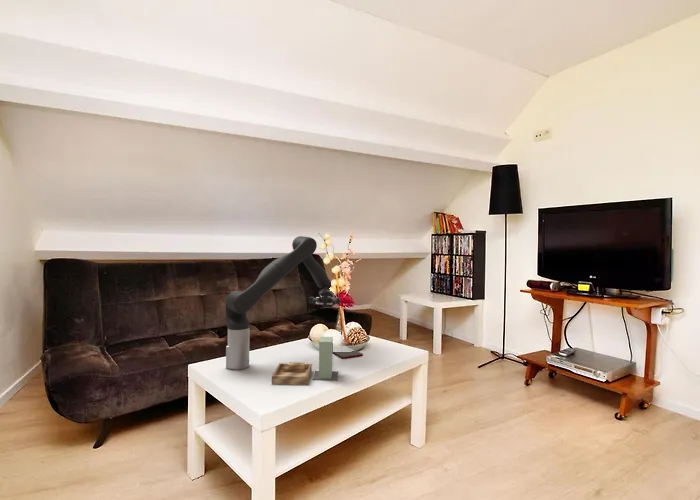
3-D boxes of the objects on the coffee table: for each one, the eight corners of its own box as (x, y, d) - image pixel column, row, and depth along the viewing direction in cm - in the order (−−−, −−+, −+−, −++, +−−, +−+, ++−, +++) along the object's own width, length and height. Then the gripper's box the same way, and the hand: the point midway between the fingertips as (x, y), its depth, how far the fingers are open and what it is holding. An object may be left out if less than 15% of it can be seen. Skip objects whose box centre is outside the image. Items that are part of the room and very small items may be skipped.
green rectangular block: (318, 378, 155) (319, 341, 155) (320, 371, 163) (321, 336, 163) (331, 378, 155) (331, 342, 155) (332, 371, 163) (332, 336, 163)
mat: (312, 380, 154) (312, 379, 154) (315, 371, 164) (315, 370, 164) (337, 380, 154) (337, 379, 154) (338, 371, 164) (338, 371, 164)
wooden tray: (271, 384, 149) (271, 375, 149) (279, 370, 164) (279, 363, 164) (307, 384, 149) (307, 376, 149) (311, 371, 164) (311, 363, 164)
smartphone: (340, 341, 209) (364, 353, 187) (340, 344, 209) (364, 357, 187) (320, 344, 203) (342, 357, 181) (320, 347, 203) (342, 360, 181)
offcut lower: (282, 371, 160) (282, 368, 159) (284, 369, 163) (284, 365, 163) (304, 372, 159) (304, 368, 159) (305, 369, 163) (305, 366, 163)
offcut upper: (288, 368, 159) (288, 364, 159) (289, 365, 163) (289, 362, 163) (303, 368, 159) (303, 365, 159) (304, 366, 163) (304, 362, 163)
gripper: (312, 289, 188) (308, 294, 172) (341, 290, 188) (339, 295, 171) (311, 304, 188) (307, 310, 172) (340, 305, 188) (339, 311, 172)
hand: (323, 302), depth 172 cm, fingers open, 8 cm apart
